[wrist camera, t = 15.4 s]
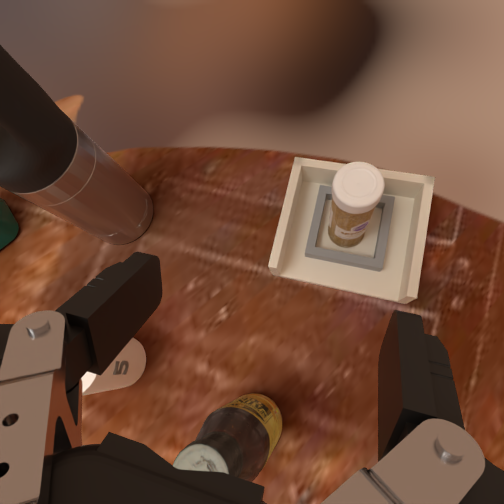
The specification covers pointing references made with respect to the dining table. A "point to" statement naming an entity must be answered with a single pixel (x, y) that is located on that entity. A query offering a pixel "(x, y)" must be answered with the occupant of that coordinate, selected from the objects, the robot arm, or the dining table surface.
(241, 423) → the sauce bottle
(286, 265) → the caddy
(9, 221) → the green bottle
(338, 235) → the sprinkles bottle
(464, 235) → the dining table surface
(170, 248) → the dining table surface
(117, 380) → the candle
